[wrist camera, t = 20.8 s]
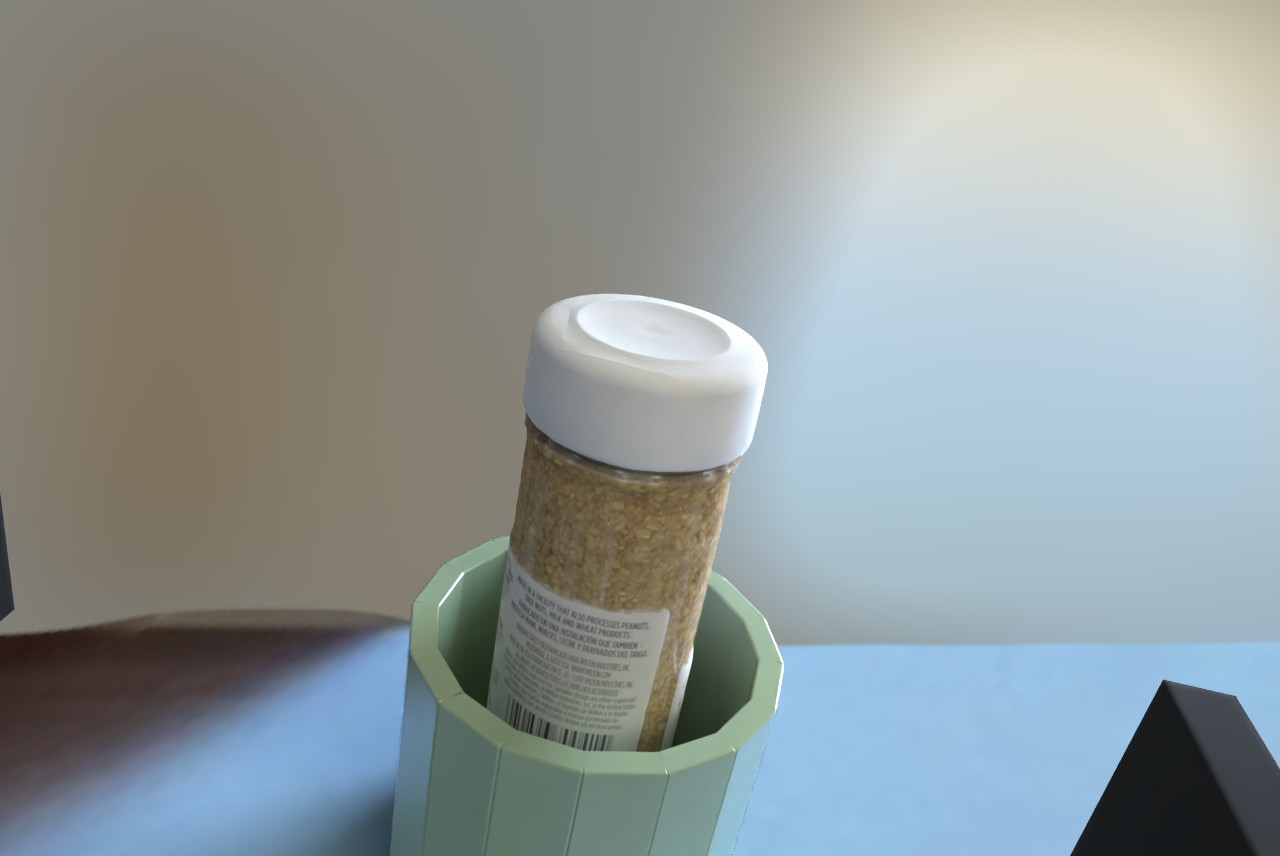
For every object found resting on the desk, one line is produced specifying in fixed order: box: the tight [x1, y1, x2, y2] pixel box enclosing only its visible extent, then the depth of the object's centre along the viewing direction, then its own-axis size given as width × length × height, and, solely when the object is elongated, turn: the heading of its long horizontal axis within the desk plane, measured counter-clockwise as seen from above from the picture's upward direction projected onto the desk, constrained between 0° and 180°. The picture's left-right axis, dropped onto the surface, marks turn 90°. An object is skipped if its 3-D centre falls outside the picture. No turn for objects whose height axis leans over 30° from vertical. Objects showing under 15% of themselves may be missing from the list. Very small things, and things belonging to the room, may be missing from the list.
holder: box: [390, 536, 784, 856], centre depth 24 cm, size 8×8×7 cm
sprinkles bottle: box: [486, 294, 767, 752], centre depth 22 cm, size 5×5×14 cm
